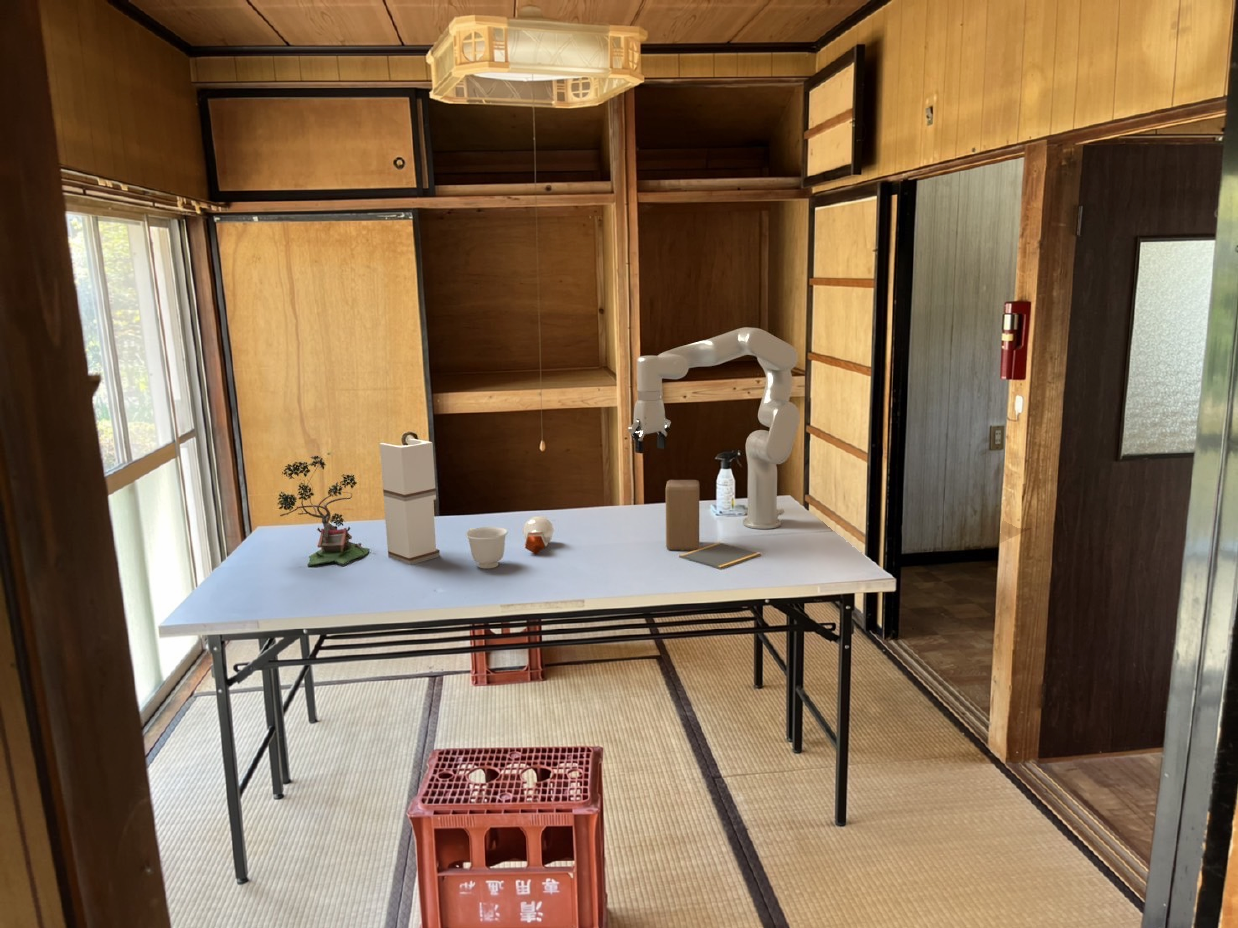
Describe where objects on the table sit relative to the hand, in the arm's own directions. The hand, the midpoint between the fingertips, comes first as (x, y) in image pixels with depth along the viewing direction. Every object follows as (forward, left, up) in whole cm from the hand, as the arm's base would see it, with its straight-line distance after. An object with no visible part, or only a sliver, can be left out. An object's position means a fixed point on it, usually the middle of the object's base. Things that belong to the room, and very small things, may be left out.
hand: (650, 450), depth 270 cm
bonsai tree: (+86, -54, -28) cm, 105 cm away
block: (0, +13, -28) cm, 31 cm away
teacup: (+53, -16, -28) cm, 62 cm away
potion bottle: (+32, -18, -29) cm, 46 cm away
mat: (0, +28, -28) cm, 40 cm away
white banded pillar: (+64, -38, -28) cm, 79 cm away
